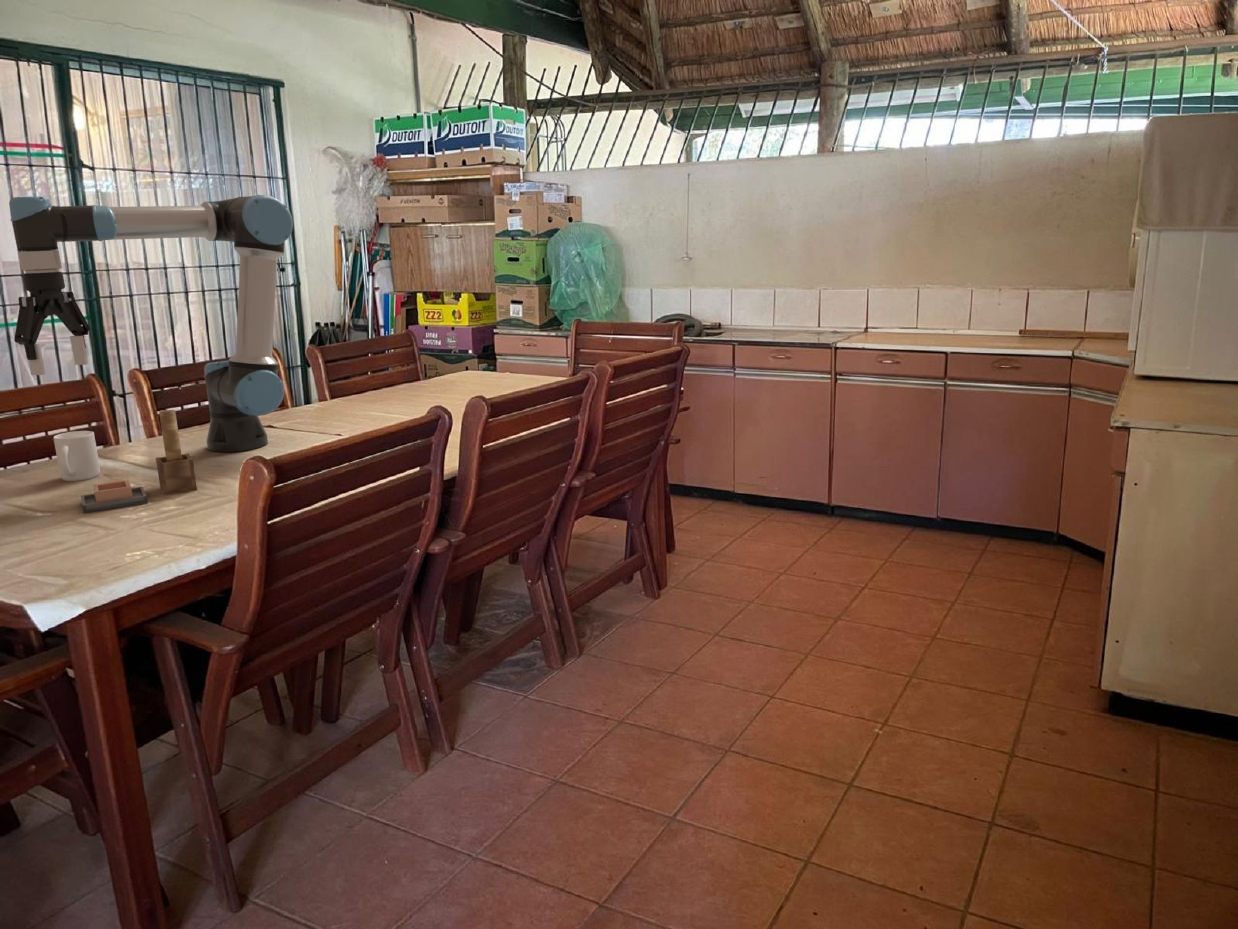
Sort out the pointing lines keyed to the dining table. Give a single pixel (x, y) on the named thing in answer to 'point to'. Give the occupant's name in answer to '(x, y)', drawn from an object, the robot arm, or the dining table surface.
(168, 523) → the dining table surface
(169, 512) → the dining table surface
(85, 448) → the mug
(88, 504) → the tray
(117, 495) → the holder
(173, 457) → the dowel
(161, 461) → the pen cup
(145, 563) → the dining table surface
